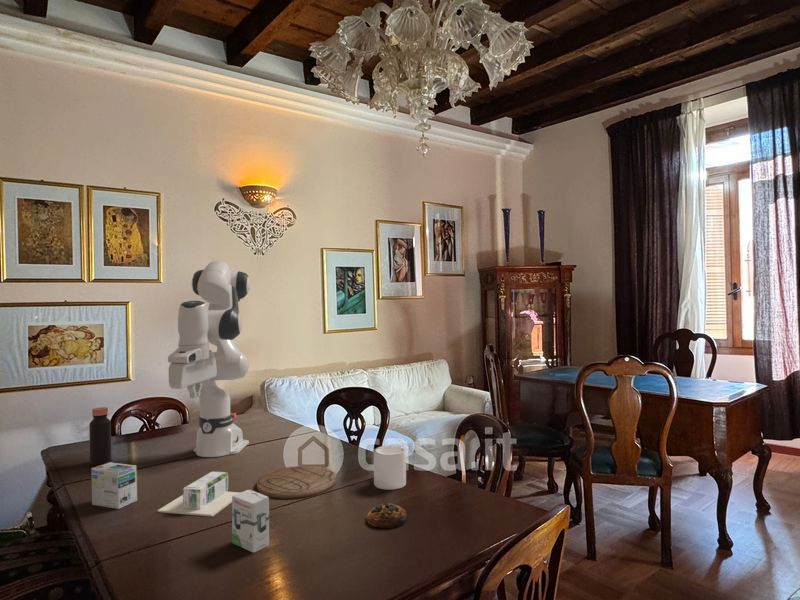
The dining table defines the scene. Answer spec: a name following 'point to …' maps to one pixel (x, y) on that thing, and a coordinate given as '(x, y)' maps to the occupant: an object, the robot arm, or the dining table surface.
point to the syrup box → (205, 490)
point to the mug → (389, 467)
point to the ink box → (250, 520)
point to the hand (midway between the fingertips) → (195, 397)
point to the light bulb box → (114, 485)
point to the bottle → (100, 437)
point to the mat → (207, 510)
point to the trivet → (296, 482)
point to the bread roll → (386, 516)
